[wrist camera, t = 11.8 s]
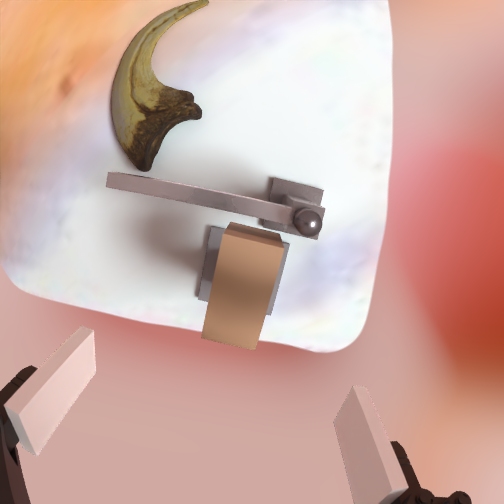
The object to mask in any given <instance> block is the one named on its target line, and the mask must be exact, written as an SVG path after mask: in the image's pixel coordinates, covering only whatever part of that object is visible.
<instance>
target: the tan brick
mask: <svg viewBox="0 0 504 504" xmlns="http://www.w3.org/2000/svg"><path fill="white" fill-rule="evenodd" d="M284 249H285V248H284V245H283V242H282V239H281V237H280V234H278V233H274V232H270V231H266V230H262V229H258V228H254V227H250V226H246V225H242V224H238V223H233V222H230V223H229V225H228V227H227V228H226V230H225V231H224V233H223V236H222V241H221V245H220V250H219V254H218V259H217V264H216V268H215V273H214V277H213V282H212V287H211V292H210V296H209V301H208V306H207V311H206V316H205V321H204V326H203V331H202V337H201V338H203V339H207V340H212V341H215V342H220V343H224V344H228V345H232V346H237V347H241V348H246V349H251V350H255V349H256V346H257V342H258V339H259V336H260V332H261V329H262V326H263V322H264V319H265V316H266V312H267V309H268V305H269V302H270V298H271V295H272V292H273V288H274V285H275V281H276V277H277V274H278V270H279V267H280V263H281V260H282V256H283V252H284Z"/></svg>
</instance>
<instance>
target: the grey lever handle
mask: <svg viewBox="0 0 504 504" xmlns="http://www.w3.org/2000/svg"><path fill="white" fill-rule="evenodd" d="M106 187H108V188H114V189H119V190H125V191H130V192H135V193H141V194H146V195H151V196H156V197H162V198H167V199H172V200H177V201H182V202H187V203H192V204H196V205H201V206H206V207H211V208H215V209H220V210H225V211H230V212H234V213H239V214H243V215H248V216H252V217H257V218H261V219H264V224H263V227H264V228H268V229H273V230H277V231H281V232H286V233H290V234H294V235H298V236H303V237H307V238H311V239H315V240H317V239H318V235H319V232H320V230H321V228H322V220H323V216H324V212H325V208H324V207H322V206H320V204H321V200H322V196H323V191H324V190H322V189H318V188H314V187H310V186H306V185H302V184H298V183H294V182H290V181H286V180H282V179H278V178H274V180H273V185H272V189H271V193H270V198H269V202H268V201H263V200H259V199H254V198H250V197H245V196H241V195H236V194H231V193H227V192H222V191H217V190H212V189H207V188H202V187H197V186H192V185H187V184H182V183H176V182H171V181H165V180H160V179H154V178H149V177H143V176H137V175H131V174H125V173H119V172H108V177H107V183H106Z"/></svg>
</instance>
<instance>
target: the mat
mask: <svg viewBox="0 0 504 504" xmlns="http://www.w3.org/2000/svg"><path fill="white" fill-rule="evenodd" d="M225 230H226V229H223V228H218V227H214V226H212V227H211V231H210V236H209V241H208V247H207V252H206V257H205V263H204V268H203V274H202V279H201V285H200V291H199V297H198V300H202V301H206V302H208V301H209V296H210V292H211V287H212V282H213V277H214V273H215V268H216V264H217V259H218V254H219V250H220V245H221V241H222V236H223V233H224V231H225ZM283 245H284V248H285V249H284V252H283V256H282V260H281V263H280V267H279V270H278V274H277V277H276V281H275V285H274V288H273V292H272V295H271V298H270V302H269V305H268V309H267V312H266V315H271V313H272V309H273V306H274V302H275V299H276V295H277V291H278V287H279V284H280V280H281V276H282V272H283V269H284V265H285V261H286V257H287V253H288V249H289V246H290V244H289V243H286V242H283Z"/></svg>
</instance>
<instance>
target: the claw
mask: <svg viewBox="0 0 504 504" xmlns="http://www.w3.org/2000/svg"><path fill="white" fill-rule="evenodd" d="M208 3H209V1H208V0H199V1H195V2H191V3H187V4H184V5H182V6H178V7H175V8H173V9H171V10H169V11H166V12H164V13H163V14H161V15H159V16H158V17H156V18H155V19H154V20H152V21H151V22H150V23H149V24H148V25H146V26H145V27H144V28H143V29H142V30H141V31H140V32H139V33H138V34H137V35H136V37H135V38H134V39H133V41H132V42H131V44H130V45H129V47H128V48H127V50H126V52H125V53H124V55H123V58H122V60H121V63H120V65H119V68H118V71H117V74H116V77H115V80H114V84H113V90H112V101H111V107H112V117H113V123H114V127H115V131H116V135H117V137H118V140H119V142H120V144H121V146H122V148H123V150H124V151H125V153H126V154H127V156H128V157H129V159H130V160H131V161H132V163H133V164H134V165H135V167H136V168H137V169H138V170H140V171H143V172H147V171H149V170H150V169H151V167H152V163H153V160H154V158H155V156H156V154H157V153H158V151H159V148H160V146H161V143H162V141H163V139H164V137H165V135H166V134H167V133H168V132H169V130H171V129H172V128H173V127H174V126H175V125H176V124H179V123H181V122H183V121H187V120H190V119H193V120H198V119H201V117H202V110H201V108H200V107H199V106H198V105H197V104H196V103H194V96H193V94H192V93H190V92H188V91H183V90H177V89H174V88H171V87H168V86H165V85H163V84H162V83H161V82H159V81H158V80H157V78H156V76H155V74H154V72H153V70H152V68H151V62H150V61H151V56H152V53H153V50H154V48H155V45H156V43H157V41H158V40H159V38H160V37H161V36H162V34H163V33H164V32H165V31H166V30H167V29H168V28H169V27H171V26H172V25H173V24H174V23H175V22H177V21H178V20H180V19H182V18H183V17H185V16H187V15H188V14H190V13H192V12H194V11H196V10H197V9H199V8H201V7H204V6H206V5H207V4H208Z"/></svg>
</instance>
